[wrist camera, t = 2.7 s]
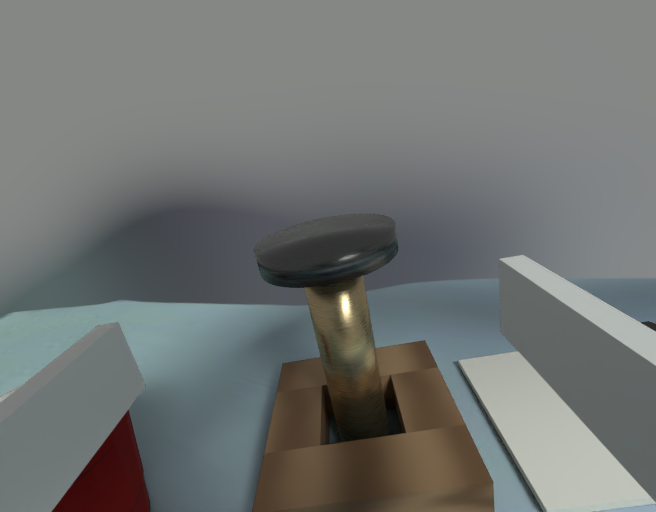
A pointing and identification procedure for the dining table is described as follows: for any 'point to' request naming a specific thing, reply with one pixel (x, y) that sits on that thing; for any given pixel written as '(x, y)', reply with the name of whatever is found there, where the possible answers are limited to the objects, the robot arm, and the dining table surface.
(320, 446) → the eye block
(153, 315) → the dining table surface
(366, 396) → the mushroom top post
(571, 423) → the pad
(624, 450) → the robot arm
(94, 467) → the plastic cup
